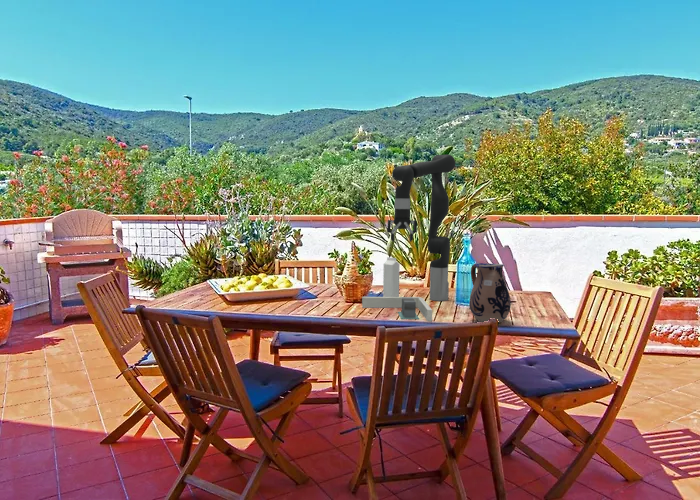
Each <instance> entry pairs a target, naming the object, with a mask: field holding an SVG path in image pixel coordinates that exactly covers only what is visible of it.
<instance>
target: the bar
mask: <svg viewBox="0 0 700 500" xmlns="http://www.w3.org/2000/svg"><path fill="white" fill-rule="evenodd" d="M401 297H402V308H401V312H402V314H403V316H404V318H416V314H417V313H416V311H417V310H416V309H417V308H416V302H415V300H414V299H413V298H408V297H409V296H401Z"/></svg>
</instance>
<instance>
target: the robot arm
mask: <svg viewBox="0 0 700 500" xmlns="http://www.w3.org/2000/svg"><path fill="white" fill-rule="evenodd" d="M455 168H456V159H455V158H454V156H453V155H451V154H437V155H434V156H433V157H432V159H431V160H427V161H420V162H419V161H418V162H415V163H411V164H408V165H407V164H406V165H398V166H396V167H394V168H393V170H392V172H391V173H392V174H391V175H392V178H393V179H394V181H397V182H401V183H400V185H399V186H396V187H395V193H394V195H395V196H394V197H395V200H394V206H393V207H394V217H393V220H391V219H388V220H387V230H386V232H387V233H389V234H390V240H391V241H392V243H393V242H395V232H396V231H397V230H408V232H409V242H410V243H411V242H412V241H414V234H416V233H418V224H417V223H418V222H417V220H416V219H413V220H411V189H412V184H413V182H414V179H416V178H420V177H424V176H428V175H431V196H430V220H429V230H428V231H429V232H428V239H427V251H428V253H429V254H434V255H435V254H436V255H439V258H437V259H434V260H431V262H430V265H429V266H430V271H429V272H430V273H429V274H430V275H429V276H430V277H429V300H431V301H435V302H438V301H439V302H444V301H449V292H450V291H449V288H450V287H449V286H450V283H449V263H450V252H451V251H450V249H451V240H450V238H449V237H448V236H442V235H438V231H439V227H440V226H441V224H442V222H444V220H445V218H446V216H447V214H448V213H449V206H450V197H449V194H448V192H447V191H446V188H445V186H444V184H443V183H444V182H443V174H444V173H451V172H453V170H454V169H455ZM392 225H394V227H393V228H392V230H391V226H392ZM410 225H413V230H412V228H411V227H410Z"/></svg>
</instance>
